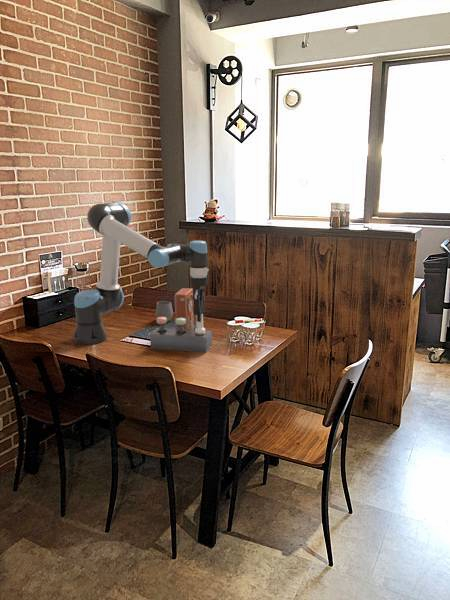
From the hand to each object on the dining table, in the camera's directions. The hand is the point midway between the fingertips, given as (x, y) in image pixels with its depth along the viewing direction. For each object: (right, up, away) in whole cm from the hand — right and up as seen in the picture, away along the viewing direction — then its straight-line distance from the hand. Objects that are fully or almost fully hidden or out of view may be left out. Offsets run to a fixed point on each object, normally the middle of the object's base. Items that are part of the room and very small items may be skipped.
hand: (199, 327), depth 225 cm
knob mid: (-9, -4, +3) cm, 10 cm away
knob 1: (-18, -4, +5) cm, 18 cm away
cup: (-21, +1, +45) cm, 50 cm away
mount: (-9, -9, +4) cm, 13 cm away
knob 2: (0, -8, +2) cm, 9 cm away
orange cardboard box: (-9, -4, +24) cm, 26 cm away
